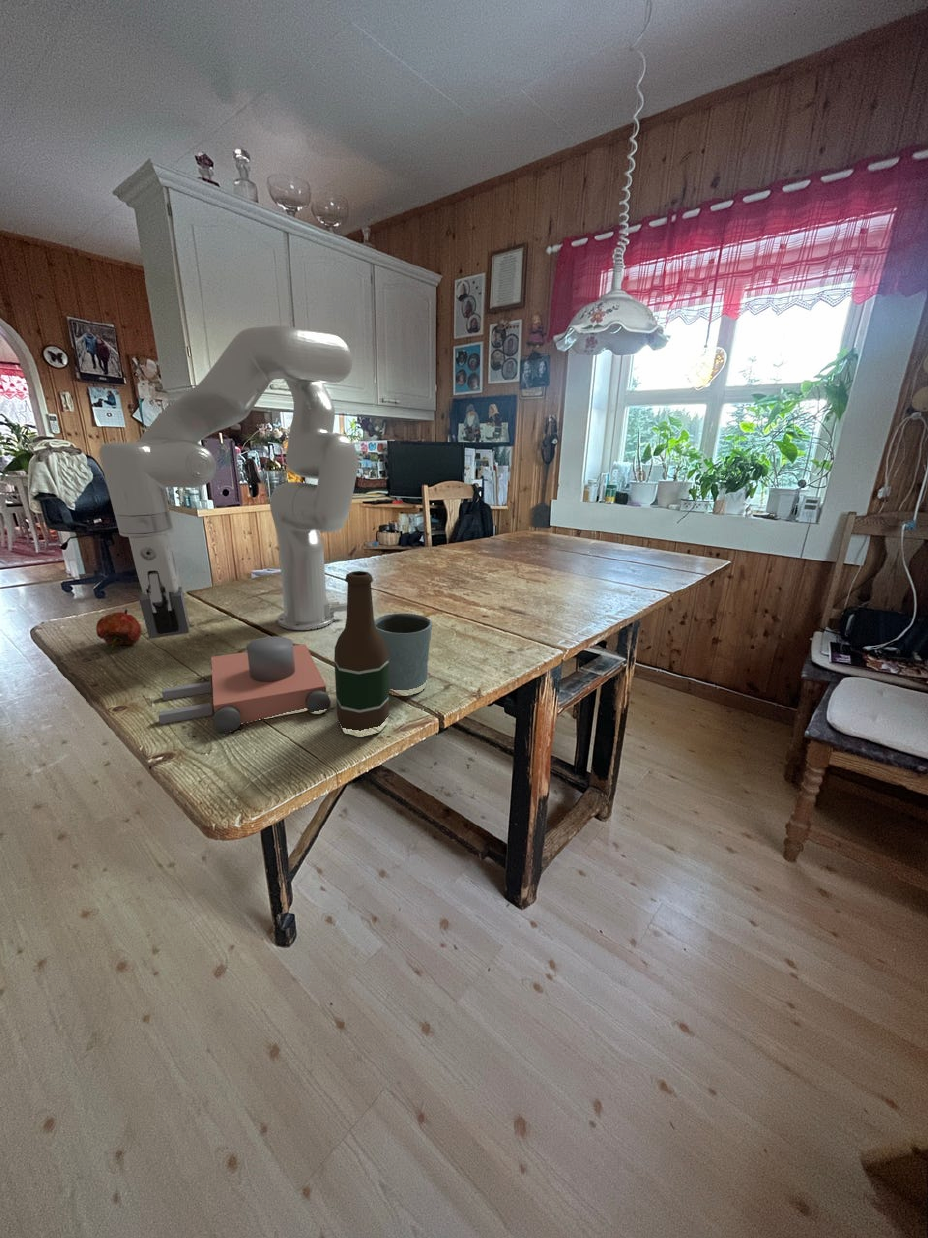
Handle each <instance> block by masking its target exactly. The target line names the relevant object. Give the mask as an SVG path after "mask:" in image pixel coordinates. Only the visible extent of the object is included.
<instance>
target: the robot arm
mask: <svg viewBox="0 0 928 1238" xmlns="http://www.w3.org/2000/svg"><path fill="white" fill-rule="evenodd" d="M352 366H353V357H352V353H351V350H350V347H349V346H348V344H347V343H346V342H345V340H343V338H341V337H340V336H338V335H337V334H335V333H330V332H325V331H319V330H318V331H317V330H312V329H306V328H300V327H294V326H289V325H282V324H279V325H266V326H255V327H248V328H245V329H242V330H241V331H240V332H238V333H237V334H236V335H235V336H234V337H233V338H232V340H231V341H230V343H229V344H228V346H227V347H226V348H225V349H224V350H223V352H222V353H221V355H220V356H219V358H218V359H217V360H216V362H215V363H214V365H213V366H212V367H211V368H210V369H209V371H208V373H207V374H206V375H205V376H204V377H203V378H202V380H201V381H200V382H199V383H198V384H197V385H195V386H194V387H192V388H190V390H188V391H187V392H185V393H184V394H183V395H181V397H179V398H177V399H176V400H175V401H174V402H172V403H171V404H170V405H169V406H168V407H165V409H163V411H162V412H160V413H159V415H158V416H156V418H155V419H154V420H153V421H152V422H151V424H150V425H149V426H148V427H147V429H146V430H144V431H145V432H144V433H143V434H142V435H141V436H140V438H139V440H138V441H116V442H115V441H114V442H113V441H111V442H107V443H103V444H102V445H101V446H100V447H99V451H98V452H99V453H98V454H99V459H100V463H101V466H102V467H101V468H102V471H103V476H104V479H105V482H106V486H107V489H108V495H109V496H110V497H109V498H110V501H111V505H112V506H111V507H112V509H113V510H112V511H113V513H114V516H115V517H114V518H115V520H116V522H115V523H116V525H117V528H118V530H117V531H118V533H119V535H120V536H121V537H125V538H126V537H127V538H128V540H129V544H130V548H131V549H130V550H131V553H132V558H133V562H134V565H135V569H136V573H137V577H138V580H139V581H138V582H139V584H140V587H141V590H142V591H143V594H144V595H146V596H150V600H151V605H152V610H153V612H152V614H153V618H154V622H155V626H156V630H157V633H158V634H163V633H170V632H177V631H178V630H179V627H178V623H177V619H176V614H175V610H174V609H172V605H171V600H170V593H169V592H173V593H176V592H177V591H178V587H180V586H179V584H180V576H179V572H178V568H177V564H176V559H175V555H174V552H173V551H174V550H173V547H172V544H171V539H170V537H169V533H172V532H174V525H173V521H172V516H171V513H170V507H169V503H168V497H167V493H166V489H167V488H187V489H188V488H189V489H190V488H191V489H192V488H199V487H203V486H205V485H207V484H208V483H210V482H211V481H212V480H213V479H214V477H215V474H216V471H217V463H216V462H217V461H216V459H215V457H214V456H213V454H212V452H211V451H210V450H209V449H208V448H206V447H205V446H204V445H202V444H200V442H201V441H202V440H203V439H205V438H207V437H208V436H210V435H211V434H213V433H216V432H219V431H221V430H225V429H227V428H230V427H232V426H235V425H237V424H239V423H241V422H242V421H244V420H245V419H246V418H247V417H248V416H249V415H250V413H251V411H252V410H253V409H254V407H255V405H256V404H258V403H257V402H258V401H259V399H260V398H261V397H262V395H263V394H264V392H265V391H266V389H267V388H268V387H269V385H270V384H271V382H273V381H276V380H284V382H285V383H286V386H287V387H288V389H289V391H290V395H291V397H292V401H293V411H292V419H291V424H290V429H289V430H290V431H289V434H288V435H289V436H288V441H287V446H286V452H285V453H286V454H285V461H286V465H287V468H288V469H289V471H290V472H292V474H294V475H296V476H298V477H303V478H307V479H315V480H317V484H315V483H314V484H313V483H308V482H297V481H290V482H284V483H281V484H280V485H278V486H277V487H275V488H274V489H273V490H272V491H273V492H272V493H271V496H270V499H269V507H270V508H269V509H270V513H271V517H272V521H273V523H274V527H275V531H276V535H277V536H276V537H277V543H278V554H279V564H280V565H279V566H280V577H281V578H280V579H281V587H282V599H283V613H281V614H280V615H279V616H277V623H278V625H279V626H280V627H281V628H285V629H287V630H293V631H310V630H311V629H312V630H317V628H318V629H321V627H322V628H325V627H327V626H329V625H331V624H333V622H334V621H335V615H334V614H335V613H336V612H337V613H338V612H340V613H341V612H342V613H343V612H347V602H346V603H340V602H339V601H334V602H329V601H328V599H327V588H326V573H325V572H326V571H325V570H326V569H325V568H326V567H325V550H324V543H323V540H322V537H321V534H320V532H322V533H335V532H338V531H340V530H341V529H342V528H343V527H344V526H345V524H346V522H347V520H348V519H349V515H350V510H351V505H352V500H353V495H354V490H355V484H356V480H357V475H358V467H359V458H358V452H357V450H356V447H355V445H354V443H353V441H352V440H351V439H350V438H349V437H348V436H346V435H344V434H341V433H337V432H334V426H335V419H336V414H335V413H336V412H335V411H336V410H335V405H334V403H333V400H332V398H331V396H330V394H329V391H328V390H327V388H326V386H325V385H324V383H325V384H329V383H330V384H333V383H334V384H336V383H341V382H342V381H344V380H345V379H346V378H348V376H349V375H350V373H351V370H352ZM161 589H165V591H166V592H164V593H161ZM142 591H141V592H142ZM162 596H166V600H165V599H163V597H162ZM333 620H334V621H333ZM330 623H331V624H330ZM328 624H329V625H328ZM324 626H325V627H324Z"/></svg>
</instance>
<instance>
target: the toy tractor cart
mask: <svg viewBox="0 0 928 1238" xmlns="http://www.w3.org/2000/svg"><path fill="white" fill-rule="evenodd" d="M293 642H294V641H293V640H292V639H291V638H288V637H285V636H277V635H276V636H266V637H260V638H257V639H254V640H252V641H250V642H249V643H248V644H247V645H246V652H244V651H243V652H238V653H228V654H226V653H220V654H216V655H215V656H211V657H210V658H211V661H210V669H211V677H212V678H211V679H212V681H210V680H209V681H204V682H198V683H197V682H196V683H190V684H183V685H178V686H172V687H164V688H162V689H161V695H162V699H163V701H167V700H173V699H178V698H179V699H180V698H185V697H190V696H198V695H205V694H209V693H212V699H213V700H212V701H213V703H212V702H208V703H203V704H196V705H191V706H184V707H178V708H173V709H167V710H161V711H158V715H157V716H158V721H159V725H165V724H169V723H170V724H171V723H176V722H181V721H186V720H187V721H188V720H193V719H197V718H202V717H208V716H212V720H213V721H212V722H213V727H214V729H215V730H216V731H217V732H219V733H222V734H226V733H225V732H230V731H233V730H235V731H236V730H237V729H238V728H239V727H240V724H241V723H247V722H251V721H255V720H259V719H264V718H267V717H272V716H275V715H279V714H283V713H286V712H291V711H295V710H300V709H304V708H307V709H308V711H309V713H310V712H314V711H319V710H324V709H328V708H329V709H330V707H331V705H332V702H331V698H330V697H329V695H328V693H327V685H326V683H325V682H324V679H323V677H322V675H321V673H320V671H319V668H318V667H317V664H316V663H315V661H314V659H313V657H312V654H311V653H310V651H309V649H308V647H307V643H304V644H299V643H293ZM211 682H212V683H211ZM212 704H213V706H212ZM329 709H328V710H329ZM213 710H214V711H213ZM213 712H214V713H213ZM247 724H248V723H247ZM233 732H234V731H233ZM230 733H231V732H230Z"/></svg>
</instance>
